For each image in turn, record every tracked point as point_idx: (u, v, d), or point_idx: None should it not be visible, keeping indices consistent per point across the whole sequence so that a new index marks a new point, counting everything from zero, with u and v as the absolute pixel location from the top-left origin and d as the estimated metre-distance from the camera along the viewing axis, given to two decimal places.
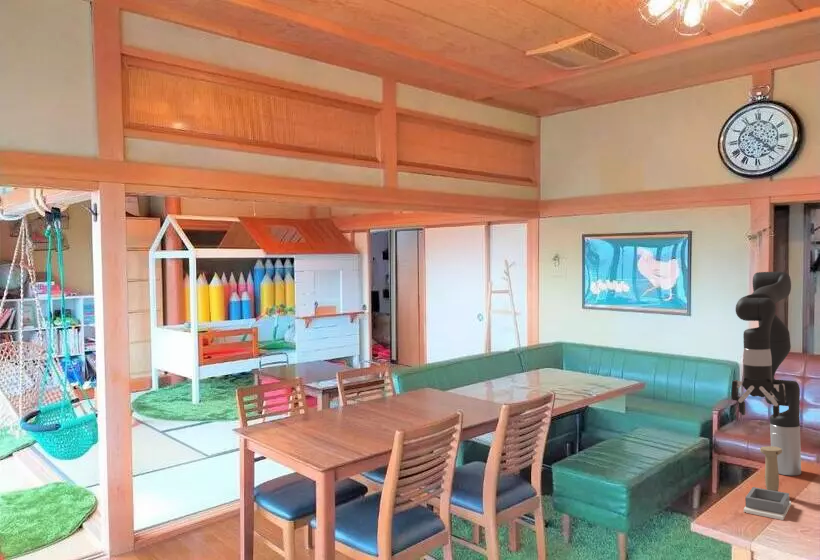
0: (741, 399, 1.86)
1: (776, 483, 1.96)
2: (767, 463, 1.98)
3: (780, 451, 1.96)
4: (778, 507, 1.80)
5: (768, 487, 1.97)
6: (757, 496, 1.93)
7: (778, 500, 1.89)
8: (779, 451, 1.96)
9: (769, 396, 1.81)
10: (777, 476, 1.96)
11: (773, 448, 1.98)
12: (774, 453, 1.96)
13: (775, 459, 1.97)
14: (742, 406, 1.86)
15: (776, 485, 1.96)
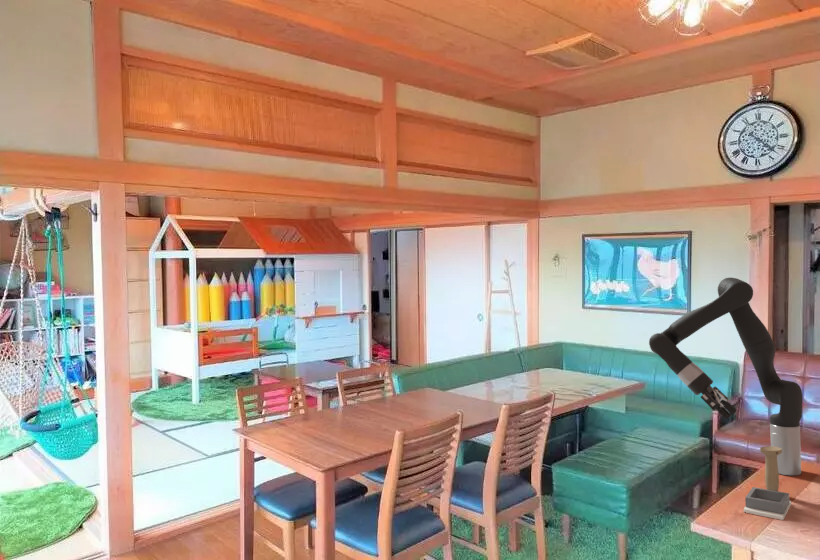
0: (720, 403, 2.11)
1: (776, 483, 1.96)
2: (767, 463, 1.98)
3: (780, 451, 1.96)
4: (778, 507, 1.80)
5: (768, 487, 1.97)
6: (757, 496, 1.93)
7: (778, 500, 1.89)
8: (779, 451, 1.96)
9: None
10: (777, 476, 1.96)
11: (773, 448, 1.98)
12: (774, 453, 1.96)
13: (775, 459, 1.97)
14: None
15: (776, 485, 1.96)
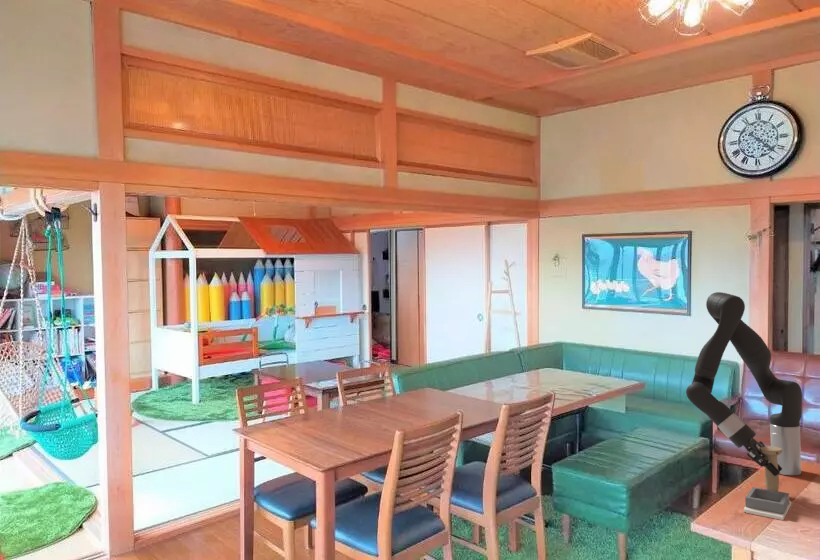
0: None
1: (776, 483, 1.96)
2: None
3: (780, 451, 1.96)
4: (778, 507, 1.80)
5: (768, 487, 1.97)
6: (757, 496, 1.93)
7: (778, 500, 1.89)
8: (780, 451, 1.96)
9: None
10: (777, 476, 1.96)
11: (773, 448, 1.98)
12: (774, 453, 1.96)
13: (775, 459, 1.97)
14: None
15: (776, 485, 1.96)
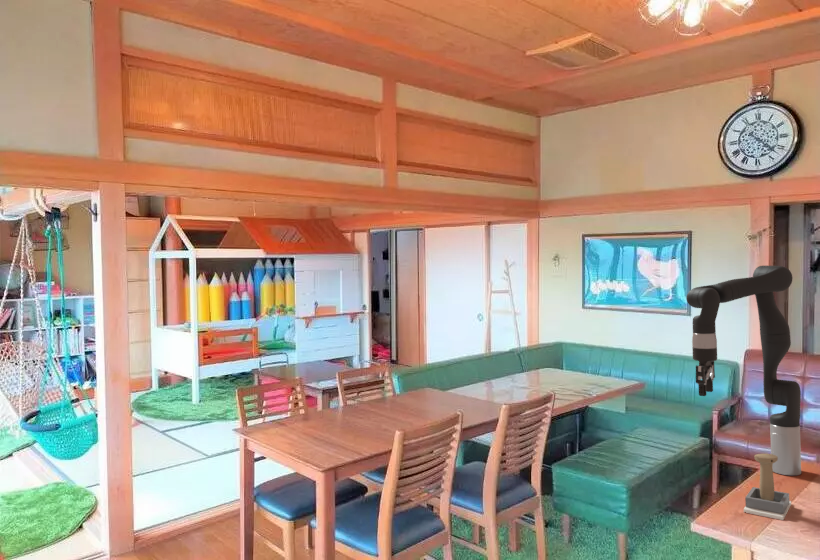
0: None
1: (771, 493, 1.86)
2: (761, 471, 1.87)
3: (775, 459, 1.86)
4: (778, 507, 1.80)
5: (762, 497, 1.87)
6: (757, 496, 1.93)
7: (778, 500, 1.89)
8: (775, 459, 1.85)
9: None
10: (772, 485, 1.86)
11: (768, 456, 1.87)
12: (769, 461, 1.85)
13: (770, 467, 1.86)
14: None
15: (771, 495, 1.86)
